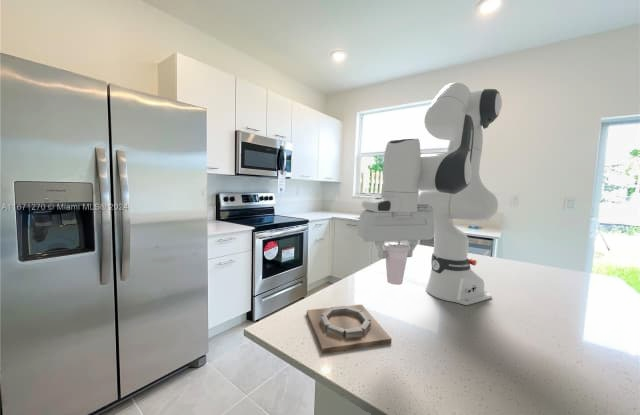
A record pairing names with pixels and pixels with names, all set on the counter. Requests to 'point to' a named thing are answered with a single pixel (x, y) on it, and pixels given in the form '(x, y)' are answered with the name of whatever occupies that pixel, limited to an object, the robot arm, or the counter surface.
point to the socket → (346, 328)
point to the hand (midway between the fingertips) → (395, 257)
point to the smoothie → (396, 261)
